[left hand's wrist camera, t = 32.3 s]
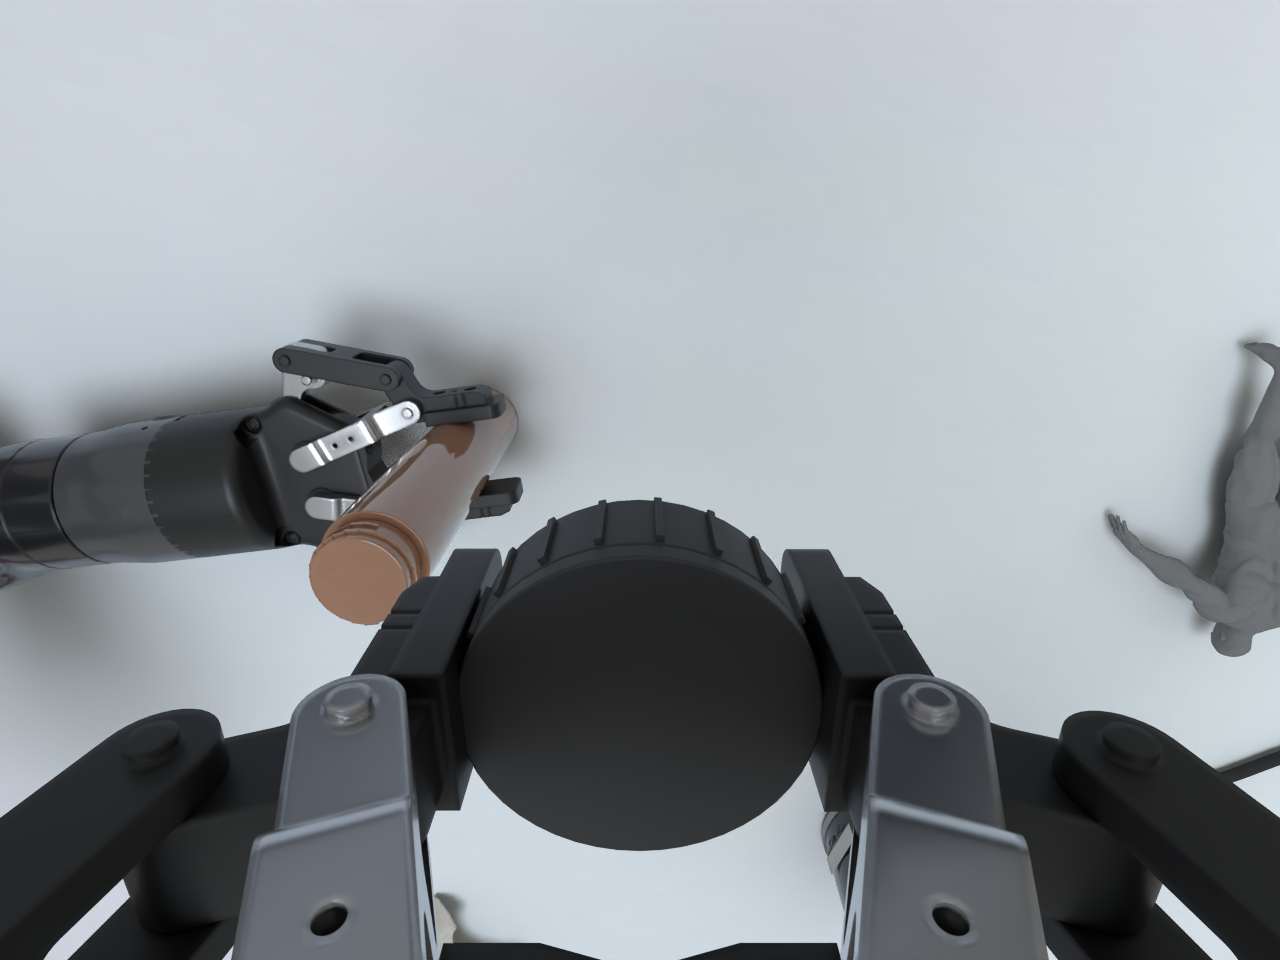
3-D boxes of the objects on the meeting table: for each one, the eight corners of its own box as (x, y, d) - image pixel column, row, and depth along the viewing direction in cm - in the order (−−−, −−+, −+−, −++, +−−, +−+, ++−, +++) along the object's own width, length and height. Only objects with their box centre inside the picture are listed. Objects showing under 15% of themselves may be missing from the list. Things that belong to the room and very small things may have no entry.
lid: (741, 790, 12) (757, 881, 11) (455, 730, 12) (425, 817, 10) (847, 540, 10) (887, 605, 9) (512, 458, 10) (486, 510, 8)
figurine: (1138, 342, 40) (1079, 640, 47) (1193, 352, 36) (1120, 677, 43) (1426, 334, 40) (1328, 635, 47) (1513, 343, 36) (1393, 671, 43)
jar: (446, 390, 41) (285, 534, 23) (512, 385, 41) (403, 526, 23) (458, 453, 43) (316, 635, 25) (522, 449, 42) (427, 628, 24)
